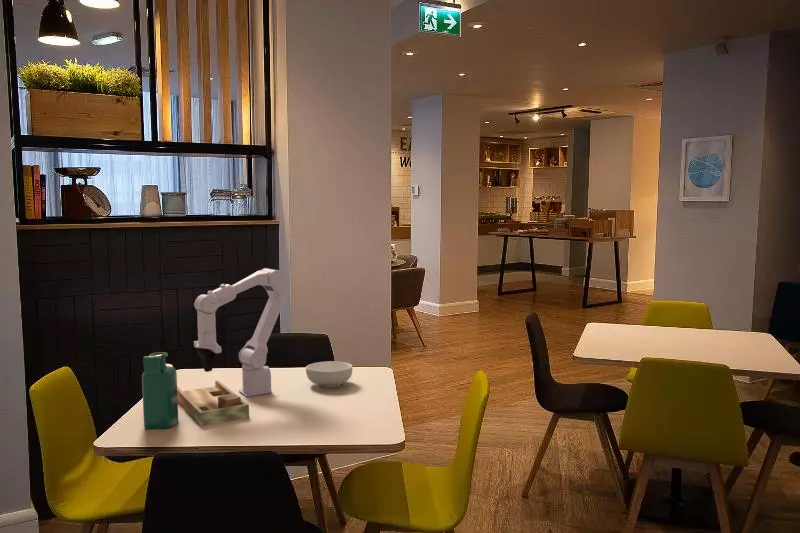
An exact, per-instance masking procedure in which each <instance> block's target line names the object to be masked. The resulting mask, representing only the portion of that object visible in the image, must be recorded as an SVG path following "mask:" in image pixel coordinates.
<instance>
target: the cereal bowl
mask: <svg viewBox="0 0 800 533" xmlns="http://www.w3.org/2000/svg"><path fill="white" fill-rule="evenodd" d="M352 373H353V365H352V364H351V363H349V362H346V361H345V362H344V361H335V360H332V361H331V360H329V361H327V360H326V361H320V362H313V363H309V364H308V365H306V366H305V374H306V377H307V379H308V380H309V381H310V382H312V384H315V385H318V386H319V387H320V388H324V389H325V388H326V389H327V388H329V389H330V388H336V387H340V386H341V385H342V384H344V383H347V381H349V380H350V378H351V377H352V375H353V374H352Z"/></svg>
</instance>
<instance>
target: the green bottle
mask: <svg viewBox="0 0 800 533" xmlns="http://www.w3.org/2000/svg"><path fill="white" fill-rule="evenodd" d="M168 356H169V354H168V352H164V351H161V352H160V351H159V352H153V353H150V354H148V356H147V355H144V356H143V357H142V363H143V373H142V374H141V384H142V385H141V386H142V387H141V390H142V409H143V412H142V413H143V427H144V428H145V429H148V430H149V429H153V430H154V429H155V430H157V429H158V430H160V429H161V430H163V429H166V428H167V429H170V428H172V427H173V426H174V425H176V423H177V422H179V405H178V404H179V402H178V397H177V387H178V378H177V377H178V376H177V374H178V373H177V369H176V368H175V367H174V366H173V367H169V366H166V364H167V363H166V357H168ZM167 429H166V430H167Z"/></svg>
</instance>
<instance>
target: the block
mask: <svg viewBox="0 0 800 533" xmlns="http://www.w3.org/2000/svg"><path fill="white" fill-rule="evenodd" d="M241 399H242V398H241V396H239V395H238V394H236V395H234V394H229V395H225V396H221V397H218V409H220V408H226V407H232V406H238V405H241Z"/></svg>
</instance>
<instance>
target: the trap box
mask: <svg viewBox="0 0 800 533" xmlns="http://www.w3.org/2000/svg"><path fill="white" fill-rule="evenodd" d="M214 383H215V384H214V385H215V386H208V387H203V388H195V389H189V390H181V388H180V387H178V386H177V397H178V404H180V406H181V407H182V408H183V409H184V411H186V412H187V413H188V414H189V415H190V416H191V417H192V418H193V419H194V420H195V422H196V423H197V424H198V425H199V426H200V427H201V426H202V425H203V426H208V425H213V423H214V424H219V423H224V422H231V421H234V420H235V421H236V420H240V419H241V420H243V419H246V418H250V404H249V403H248V402H246V401H245V400H244V399H243V398H241V405H238V406H232V407H226V408H220V409H218V397H221V396H225V395H229V394H234V395H237V394H236V393H235V392H233V391H232V390H231V389H230V388H228V387H227V386H226V385H225V384H223V383H222V382H221V381H220V380H215V381H214Z"/></svg>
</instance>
